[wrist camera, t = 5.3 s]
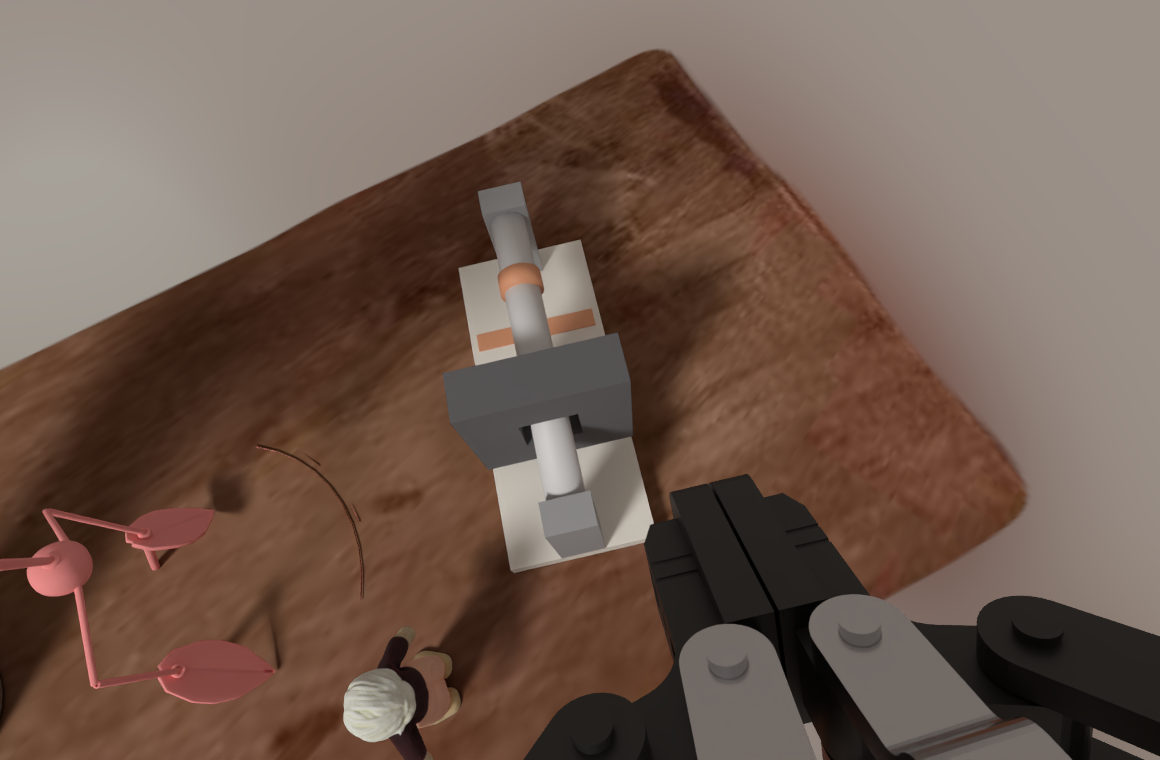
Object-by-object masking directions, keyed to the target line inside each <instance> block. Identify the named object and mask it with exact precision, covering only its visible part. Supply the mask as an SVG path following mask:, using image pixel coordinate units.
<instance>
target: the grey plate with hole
mask: <svg viewBox="0 0 1160 760" xmlns="http://www.w3.org/2000/svg"><path fill="white" fill-rule="evenodd" d="M443 379H444V386H445V392H446V399H447V405H448V412H449V419H450V424H451V425H452V426H453V427H454V428H455V430H456V431H457V432H458V433H459V435H460V436H461V437H462V438H463V439H464V441H465V442H466V443H467V444H468V446H469V447H470V448H471V449H472V450H473V452H474V453H475V454H476V455H477V456H478V458H479V459H480V460H481V461H482V463H483V464H484V465H485V466H486V467H487V469H488V470H491V469H495V468H499V467H503V466H508V465H512V464H516V463H521V462H525V461H529V460H533V459H537V455H536V450H535V445H534V440H533V435H532V430H531V425H533V424H537V423H541V422H546V421H550V420H554V419H558V418H563V417H567V416H569V419H570V424H571V428H572V433H573V437H574V442H575V446H576V449H580V448H585V447H589V446H593V445H597V444H602V443H606V442H610V441H614V440H619V439H623V438H627V437H632V436H633V424H632V401H631V381H630V377H629V373H628V369H627V366H626V362H625V358H624V354H623V351H622V347H621V343H620V339H619V336H618V333H613V334H609V335H605V336H601V337H596V338H592V339H588V340H583V341H579V342H575V343H571V344H566V345H562V346H558V347H553V348H549V349H545V350H541V351H536V352H532V353H528V354H523V355H519V356H515V357H511V358H506V359H502V360H498V361H494V362H489V363H485V364H481V365H476V366H472V367H468V368H464V369H459V370H455V371H451V372H446V373H443Z"/></svg>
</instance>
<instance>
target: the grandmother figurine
mask: <svg viewBox="0 0 1160 760" xmlns="http://www.w3.org/2000/svg"><path fill="white" fill-rule="evenodd" d="M414 638H415V631H414V629H413V628H412V627H410V626H404V627H402V628H401V629H400V630H399V632H398V633H397V634H396V635H395V637H393V638H392V639H391V640H390V641H389V643H388V645H387V647H386V650H385V653H384V655H383V658H382V659H381V661H380V663H379V665H378V668H377V669H375V670H372V671H369V672H365V673H363V674H362V675H360V676H359V677H357V678H355V679H354V680H353V682H352V683H351V684H350V685H349V687H348V690H347V692H346V693H345V697H344V724H345V725H346V727H347V729H348V730H349V731H350V732H351V733H352V734H354V735H355V736H357V737H360V738H361V739H362V740H365V741H369V742H377V741H382V740H385V739H387V738H390V740H391V741H392V743H393V744H394V745H395V747H396V748H397V750H398V751H399V752H400V754H401V755H402V756H403V758H404V760H433V758H432V755H431V754H430V753H429V752H428V751H427V749H426V747H425V745H424V742H423V740H422V737H421V735H420V733H419V731H418V728H422V727H425V726H430V725H434V724H437V723H439V722H441V721H443V720H444V719H446V718H448V717H449V716H451V715H453V714H455V713H456V712H457V711H458V710H459V708H460V705H461V700H460V696H459V693H458V691H457V690H456V689H455V688H452V687H447V685H446V682H445V680H444V679H446V678H447V677H449V675H450V674H451V672H452V660H451V658H450V656H449V655H447V654H444V653H439V652H432V651H421V652H419V653H418V654H416V656H415V657H414V658H413V660H410V661H408V662H405V663H404V664H403V665H402V666H401V667H400V664H401V662H402V660H403V658H404V657H405V655H406V653H407V650H408V647H409V646H410V644H411V642H412V641H413V640H414Z"/></svg>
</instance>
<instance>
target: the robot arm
mask: <svg viewBox="0 0 1160 760" xmlns="http://www.w3.org/2000/svg"><path fill="white" fill-rule="evenodd" d="M670 502H671V507H672V512H673V518H674V519H672V520H668V521H664V522H659V523H655V524H651V525H650V526H649V530H648V533H647V536H646V539H645V543H644V546H645V551H646V555H647V560H648V565H649V569H650V574H651V579H652V583H653V588H654V593H655V597H656V602H657V607H658V610H659V614H660V617H661V621H662V624H663V627H664V630H665V634H666V638H667V641H668V645H669V648H670V651H671V655H672V658H673V662H674V664H673V667H672V669H671V671H670V673H669V674H668V676H667V678H666V679H665V680H664V681H663V682H662V683H661V684H660V685H659V686H658V687H657V688H656V689H655V690H653V691H652V692H650V693H649V694H647V695H645V696H644V697H642V698H640V699H638V700H637V701H635V702H633V703H631V702H630V701H628V700H627V699H625V698H623V697H621V696H619V695H615V694H610V693H593V694H588V695H585V696H582V697H579V698H577V699H575V700H573V701H571V702H569V703H568V704H567V705H565V706H564V707H563V708H562V709H560V710H559V711H558V712H557V713H556V715H555V716H554V717H553V718H552V720H551V721H550V723H549V724H548V725H547V727H546V728H545V730H544V731H543V733H542V734H541V735H540V737H539V738H538V740H537V741H536V743H535V744H534V745H533V747H532V748H531V750H530V751H529V753H528V754H527V755H526V757H525V758H524V760H816V757H815V754H814V752H813V749H812V746H811V744H810V741H809V738H808V736H807V733H806V730H805V728H804V725H803V724H805V723H809V722H812V723H813V725H814V727H815V729H816V731H817V733H818V735H819V737H820V739H821V747H822V757H823V760H1144V759H1141V758H1139V757H1137V756H1134V755H1132V754H1130V753H1127V752H1125V751H1123V750H1121V749H1118V748H1116V747H1114V746H1111V745H1109V744H1107V743H1105V742H1102V741H1100V740H1098V739H1095V738H1093V737H1092V733H1093V728H1095V729H1097V730H1099V731H1102V732H1104V733H1106V734H1109V735H1111V736H1113V737H1116V738H1118V739H1120V740H1123V741H1125V742H1127V743H1130V744H1132V745H1135V746H1137V747H1139V748H1141V749H1144V750H1146V751H1148V752H1151V753H1154V754H1155V755H1158V756H1160V636H1157V635H1154V634H1151V633H1148V632H1145V631H1142V630H1139V629H1136V628H1133V627H1130V626H1127V625H1124V624H1120V623H1118V622H1115V621H1112V620H1109V619H1105V618H1102V617H1099V616H1096V615H1093V614H1090V613H1087V612H1084V611H1081V610H1078V609H1075V608H1072V607H1069V606H1066V605H1063V604H1060V603H1057V602H1054V601H1050V600H1047V599H1043V598H1038V597H1031V596H1009V597H1003V598H1000V599H996V600H994V601H992V602H990V603H988V604H987V605H986V606H984V607H983V609H982V610H981V611H980V613H979V615H978V617H977V626H963V625H962V626H961V625H931V624H923V623H917V622H913V621H910V620H909V619H908V618H907V617H906V616H905V614H903V613H902V612H901V611H900V610H899V609H898V608H897V607H895V606H894V605H892V604H890V603H888V602H886V601H884V600H882V599H879V598H876V597H872V596H870V595H869V593H868V592H867V591H866V589H865V588H864V587H863V585H862V584H861V582H860V581H859V580H858V578H857V577H856V576H855V574H854V573H853V571H852V570H851V569H850V567H849V566H848V565H847V563H846V562H845V561H844V559H843V558H842V556H841V555H840V554H839V552H838V551H837V550H836V548H835V547H834V545H833V544H832V543H831V542H829V540H828V537H827V536H826V534H825V533H824V532H823V530H822V529H821V528H820V527H818V523H817V522H816V521H815V519H814V518H813V517H812V515H811V514H810V512H809V511H808V510H807V508H806V507H805V506H804V505H802V504H801V503H799V502H797V501H795V500H794V499H792V498H790V497H788V496H787V495H785V494H783V493H781V494H777V495H773V496H769V497H763V496H762V494H761V493H760V491H759V490H758V488H757V486H756V485H755V483H754V482H753V480H752V479H751V477H750V476H749V475H748V474H745V475H740V476H736V477H732V478H728V479H723V480H719V481H715V482H711V483H709V485H708V484H703V485H699V486H694V487H690V488H686V489H682V490H677V491H673V492H670ZM2 696H3V692H2V685H1V679H0V714H1V709H2Z"/></svg>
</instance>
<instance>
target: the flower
mask: <svg viewBox="0 0 1160 760" xmlns="http://www.w3.org/2000/svg"><path fill="white" fill-rule="evenodd" d="M254 447H255V446H254ZM258 448H259V447H258ZM262 449H264V448H262ZM267 450H268V449H267ZM271 451H273V450H271ZM278 453H279V452H278ZM283 455H284V454H283ZM288 457H289V456H288ZM290 458H291V457H290ZM295 460H296V459H295ZM320 478H321V477H320ZM321 479H322V478H321ZM322 480H323V479H322ZM323 481H324V480H323ZM324 482H325V481H324ZM325 483H326V482H325ZM330 488H331V487H330ZM332 491H333V490H332ZM333 492H334V491H333ZM335 495H336V494H335ZM337 498H338V497H337ZM338 499H339V498H338ZM340 502H341V501H340ZM341 503H342V502H341ZM349 503H350V502H349ZM342 505H343V504H342ZM350 505H351V504H350ZM343 507H344V506H343ZM351 507H352V506H351ZM344 509H345V508H344ZM352 509H353V508H352ZM214 511H215V510H211V509H200V508H169V509H162V510H155V511H152V512H150V513H147V514H145V515H142V516H140V517H139V518H138V519H137V520H136V521H134V522H133V523H132V524H131V525H130V526H129V527H128V526H124V525H119V524H115V523H111V522H107V521H102V520H98V519H94V518H90V517H85V516H81V515H77V514H72V513H68V512H64V511H60V510H55V509H51V508H49V509H44V510H43V511H42V512H43V514H44V516H45V517H46V519H47V520H48V522H49V524H50V525H51V527H52V529H53V530H54V532H55V534H56V535H57V537H58V539H59V540H60V541H58V542H55V543H52V544H49V545H47V546H45V547H43V548H42V549H40V550H39V551H38V552H36V553H35V554H34V556H33V557H32V558H11V559H0V571H4V570H12V569H20V568H27V577H28V580H29V583H30V585H31V586H32V588H33V589H34V590H35V591H37V592H38V593H40V594H42V595H45V596H63V595H67V594H70V593H72V592H74V593H75V598H76V604H77V609H78V615H79V621H80V626H81V632H82V638H83V644H84V650H85V655H86V661H87V667H88V673H89V679H90V685H91V687H92V686H93V687H94V688H95V689H97V688H103V687H108V686H114V685H119V684H125V683H130V682H136V681H141V680H147V679H153V678H158V680H159V682H160V684H161V685H162V687H163V689H164V690H165V692H167V693H169V694H172V695H174V696H176V697H179V698H181V699H184V700H186V701H188V702H191V703H203V704H217V703H221V702H225V701H229V700H233V699H237V698H240V697H242V696H243V695H245V694H246V693H248V692H249V691H251V690H252V689H254V688H255V687H257V686H258V685H260V684H261V683H263V682H264V681H266V680H267V679H268V678H269V677H270V676H271V675H273V674H274V673H275V670H274V669H273V668H272V667H271V666H270V665H269V664H268V663H267V662H266V661H265V660H263V659H262V658H260V657H259V656H258V655H256V654H255V653H254V652H252V651H251V650H249V649H248V648H247V647H245V646H242V645H238V644H235V643H231V642H228V641H224V640H202V641H197V642H194V643H191V644H188V645H185V646H183V647H180V648H177V649H174V650H172V651H170V653H169V654H168V655H167V656H166V657H165V658H164V659H163V661H162V662H161V663H160V664H159V665H158V666H157V667H158V668H159V669H160V671H154V672H148V673H142V674H136V675H130V676H123V677H117V678H111V679H105V680H99V681H98V677H97V671H96V665H95V659H94V653H93V647H92V642H91V636H90V630H89V624H88V618H87V612H86V606H85V600H84V593H83V587H82V586H83V585H84V584H85V583H86V582H87V581H88V580H89V578H90V576H91V574H92V570H93V562H92V558H91V555H90V553H89V552H88V550H87V549H86V548H85V547H84V546H83V545H82V544H80V543H78V542H76V541H70V540H69V539H68V537H67V536H66V534H65V533H64V531H63V530H62V528H61V527H60V525H59V524H58V522H57V521H56V519H55V518H54V516H55V517H60V518H65V519H69V520H74V521H78V522H83V523H87V524H92V525H97V526H101V527H106V528H110V529H115V530H120V531H124V532H125V538H126V543H132V547H134V548H139V549H143V550H144V552H145V554H146V557H147V559H148V561H149V564H150V566H151V569H152V570H158V569H159V568H160V564H159V562H158V559H157V556H156V554H155V550H163V549H172V548H179V547H182V546H185V545H188V544H191V543H194V542H195V541H196V540H198V539H199V538H200V537H202V536H203V535H204V534H205V533H206V531H207V529H208V527H209V525H210V523H211V521H212V519H213V515H214ZM345 511H346V510H345ZM353 511H354V510H353ZM346 513H347V512H346ZM354 513H355V512H354ZM347 515H348V514H347ZM355 515H356V514H355ZM348 517H349V516H348ZM356 517H357V516H356ZM349 519H350V518H349ZM357 519H358V518H357ZM350 521H351V520H350ZM358 521H359V520H358ZM351 523H352V522H351ZM352 526H353V524H352ZM353 530H354V527H353ZM354 533H355V531H354ZM355 537H356V534H355ZM356 540H357V538H356ZM357 544H358V541H357ZM358 547H359V545H358ZM359 555H360V549H359ZM360 564H361V557H360ZM361 572H362V566H361ZM361 595H362V576H361Z"/></svg>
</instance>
